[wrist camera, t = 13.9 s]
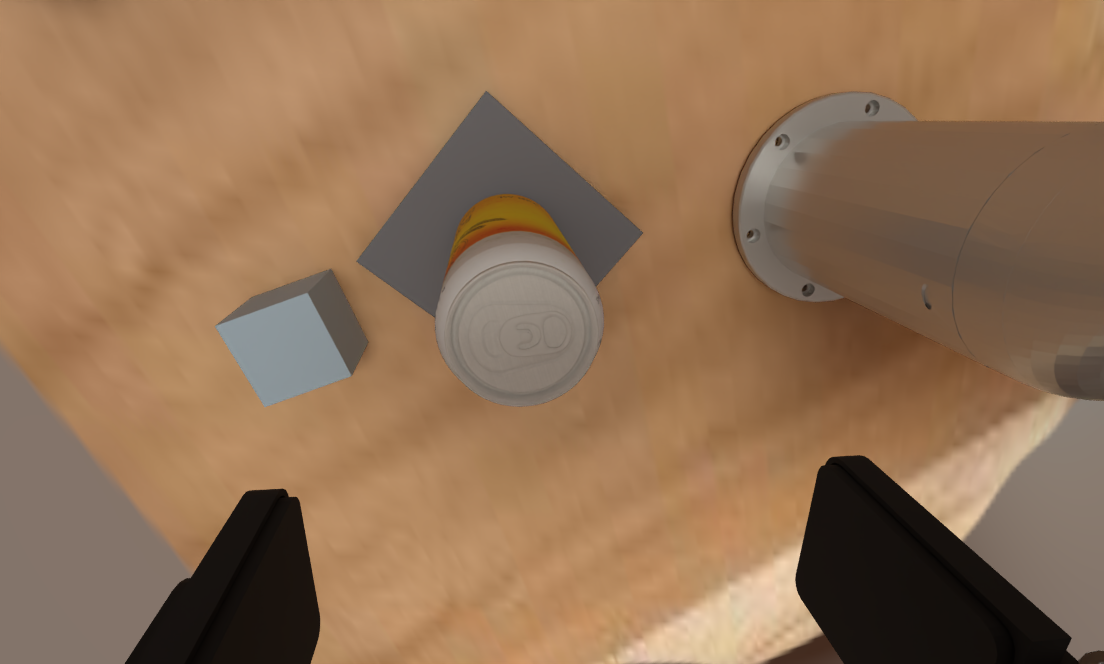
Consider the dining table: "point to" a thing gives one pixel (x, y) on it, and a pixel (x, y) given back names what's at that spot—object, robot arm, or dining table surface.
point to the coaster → (475, 174)
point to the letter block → (295, 338)
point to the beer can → (516, 305)
